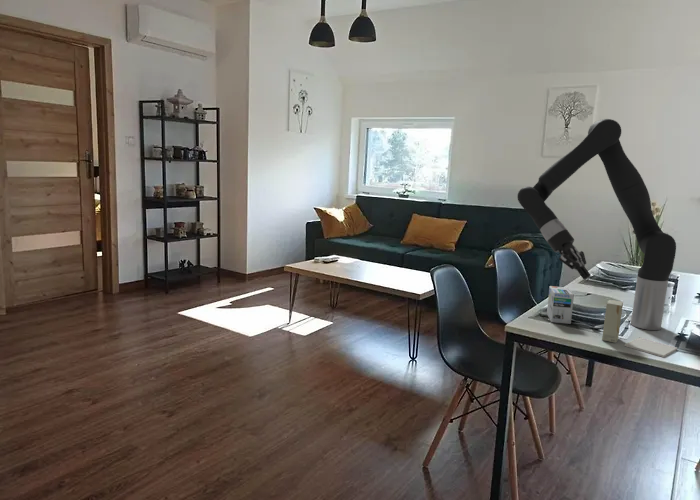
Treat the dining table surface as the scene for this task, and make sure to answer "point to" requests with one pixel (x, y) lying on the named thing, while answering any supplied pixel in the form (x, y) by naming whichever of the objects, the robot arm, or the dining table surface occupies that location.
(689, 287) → the dining table surface
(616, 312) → the skincare box
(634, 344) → the grey mat
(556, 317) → the light bulb box
